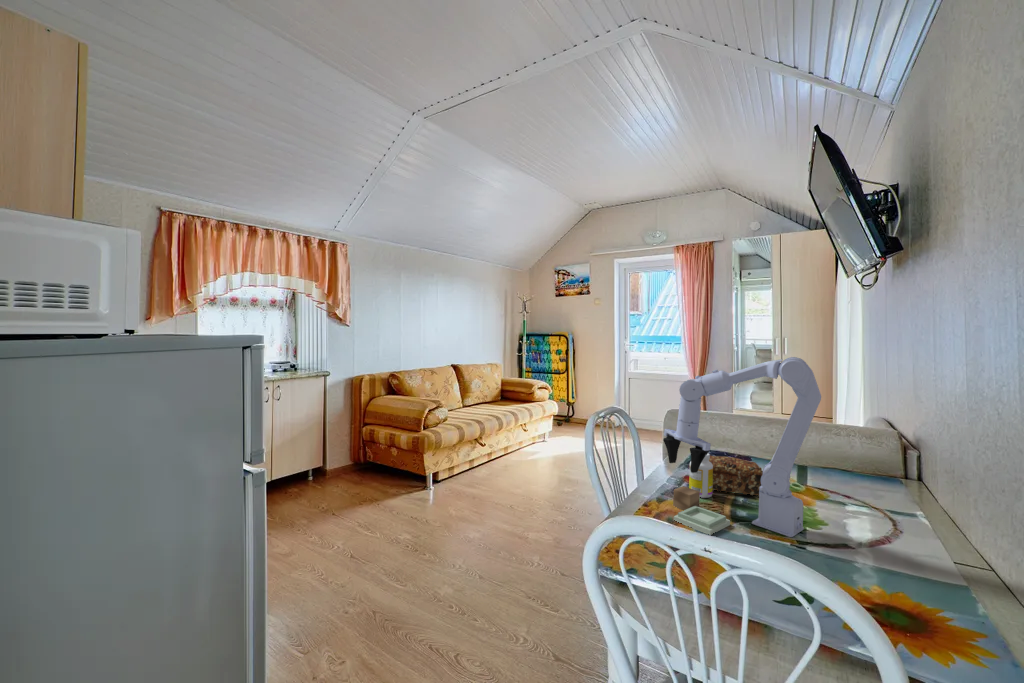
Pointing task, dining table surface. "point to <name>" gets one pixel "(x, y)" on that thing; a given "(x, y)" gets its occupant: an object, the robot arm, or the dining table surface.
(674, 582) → the dining table surface
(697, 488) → the supplement bottle
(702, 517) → the plate
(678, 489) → the cube
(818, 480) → the dining table surface
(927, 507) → the dining table surface
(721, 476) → the bread
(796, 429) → the robot arm
